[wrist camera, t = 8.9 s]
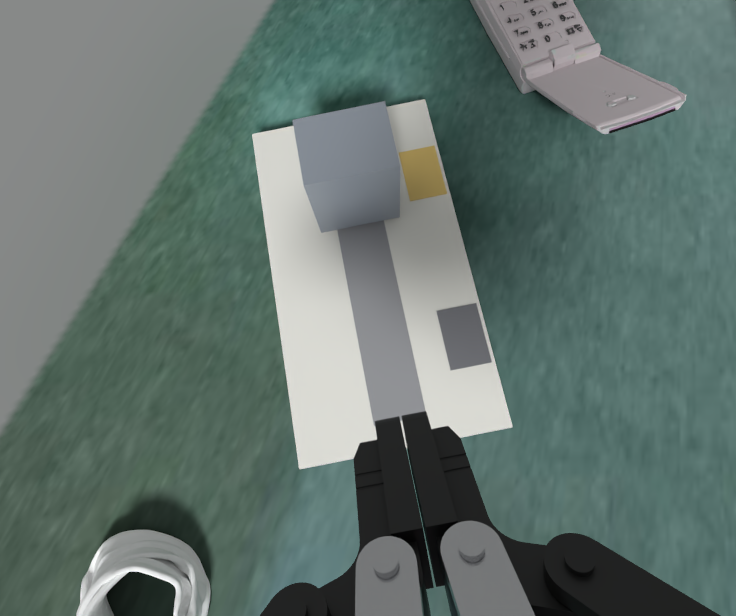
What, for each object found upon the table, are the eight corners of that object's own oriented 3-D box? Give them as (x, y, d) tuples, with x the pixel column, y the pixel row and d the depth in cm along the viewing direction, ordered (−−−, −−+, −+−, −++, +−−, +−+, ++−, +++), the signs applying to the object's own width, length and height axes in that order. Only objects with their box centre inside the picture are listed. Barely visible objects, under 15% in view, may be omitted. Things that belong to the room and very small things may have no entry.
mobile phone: (597, 135, 26) (432, -152, 33) (560, 189, 32) (426, -65, 38) (695, 101, 26) (511, -177, 33) (641, 161, 32) (494, -87, 39)
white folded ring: (88, 561, 28) (15, 585, 24) (179, 497, 28) (125, 508, 24) (139, 700, 26) (69, 757, 21) (240, 629, 26) (192, 670, 21)
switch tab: (387, 162, 30) (384, 100, 25) (399, 217, 29) (400, 166, 24) (311, 177, 30) (292, 119, 25) (321, 233, 29) (303, 185, 24)
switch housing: (423, 118, 34) (425, 98, 32) (504, 427, 28) (512, 427, 26) (260, 151, 34) (251, 133, 32) (306, 467, 28) (299, 469, 26)
